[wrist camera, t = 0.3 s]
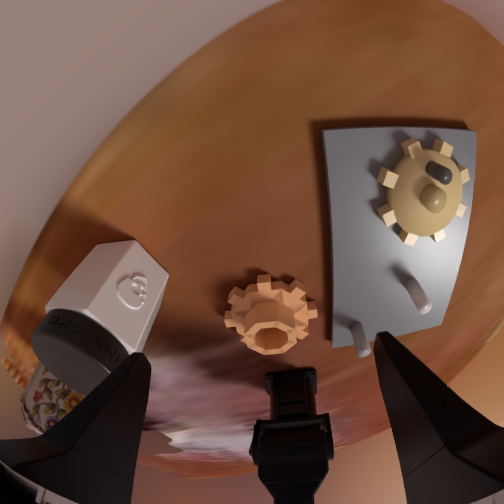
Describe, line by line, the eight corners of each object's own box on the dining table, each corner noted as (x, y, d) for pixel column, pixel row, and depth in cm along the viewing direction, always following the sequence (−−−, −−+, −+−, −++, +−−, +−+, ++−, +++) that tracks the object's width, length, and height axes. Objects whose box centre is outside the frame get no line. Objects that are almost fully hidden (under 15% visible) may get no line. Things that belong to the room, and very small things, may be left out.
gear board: (437, 319, 27) (452, 345, 23) (330, 341, 29) (337, 374, 25) (469, 129, 16) (502, 140, 12) (320, 129, 18) (336, 137, 14)
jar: (187, 288, 25) (151, 399, 15) (138, 318, 28) (100, 409, 18) (120, 219, 22) (40, 311, 12) (80, 263, 25) (18, 345, 14)
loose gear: (316, 334, 28) (320, 361, 25) (236, 342, 29) (233, 369, 26) (313, 267, 24) (319, 295, 20) (215, 280, 25) (208, 307, 22)
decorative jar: (54, 332, 32) (4, 424, 17) (117, 351, 32) (73, 465, 17) (78, 375, 38) (45, 454, 23) (134, 392, 38) (106, 484, 23)
